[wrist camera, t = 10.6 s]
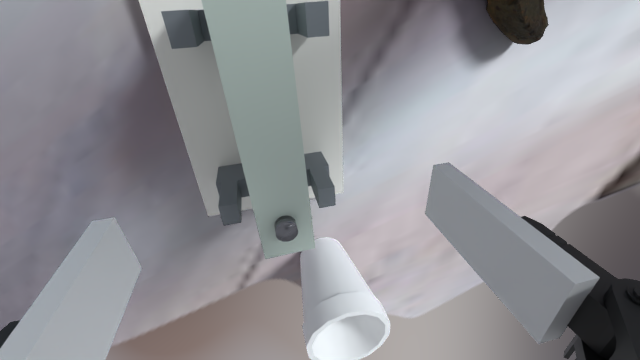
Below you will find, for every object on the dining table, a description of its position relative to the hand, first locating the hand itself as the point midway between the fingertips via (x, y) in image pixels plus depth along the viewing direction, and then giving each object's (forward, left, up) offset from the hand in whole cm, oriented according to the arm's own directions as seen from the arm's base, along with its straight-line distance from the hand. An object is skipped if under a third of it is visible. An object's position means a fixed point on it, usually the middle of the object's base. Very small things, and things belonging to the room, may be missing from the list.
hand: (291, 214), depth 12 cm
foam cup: (-5, +23, -20) cm, 31 cm away
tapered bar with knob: (0, 0, -15) cm, 15 cm away
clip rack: (0, 0, -20) cm, 20 cm away
